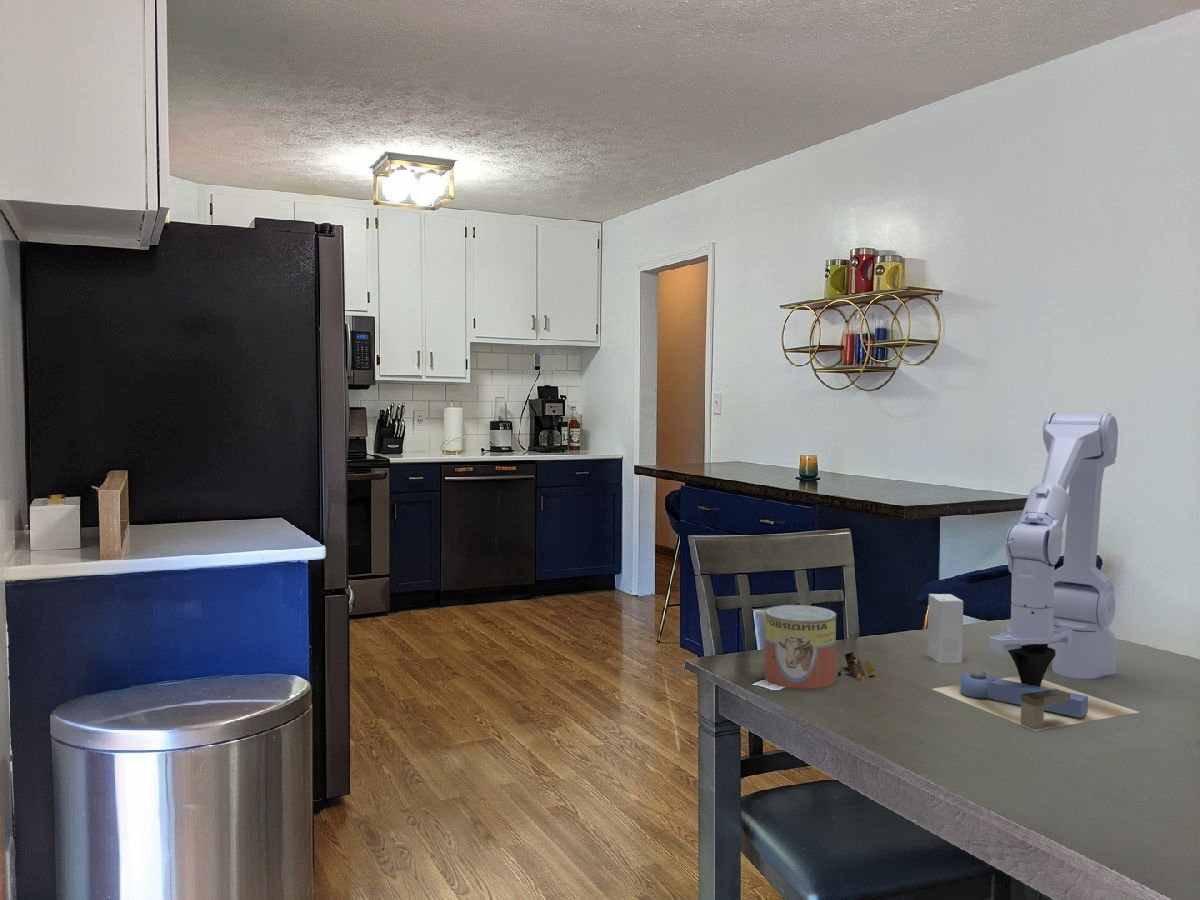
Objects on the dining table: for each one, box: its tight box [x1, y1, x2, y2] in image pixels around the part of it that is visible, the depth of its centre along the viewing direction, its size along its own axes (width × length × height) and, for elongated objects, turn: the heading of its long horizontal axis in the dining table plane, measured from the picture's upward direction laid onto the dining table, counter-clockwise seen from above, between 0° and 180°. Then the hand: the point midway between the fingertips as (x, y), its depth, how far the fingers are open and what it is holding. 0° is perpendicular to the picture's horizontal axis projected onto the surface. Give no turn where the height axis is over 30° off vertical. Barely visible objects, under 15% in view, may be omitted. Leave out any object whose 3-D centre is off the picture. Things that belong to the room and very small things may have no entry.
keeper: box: [1020, 689, 1071, 731], centre depth 129 cm, size 6×2×5 cm, turn 112°
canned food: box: [764, 604, 837, 690], centre depth 150 cm, size 11×11×12 cm
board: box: [931, 675, 1140, 732], centre depth 139 cm, size 20×20×1 cm
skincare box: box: [926, 593, 964, 664], centre depth 162 cm, size 6×4×12 cm
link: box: [959, 669, 1088, 718], centre depth 137 cm, size 18×5×3 cm, turn 46°
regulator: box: [836, 651, 876, 683], centre depth 150 cm, size 8×4×15 cm
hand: (1030, 694), depth 139 cm, fingers closed
